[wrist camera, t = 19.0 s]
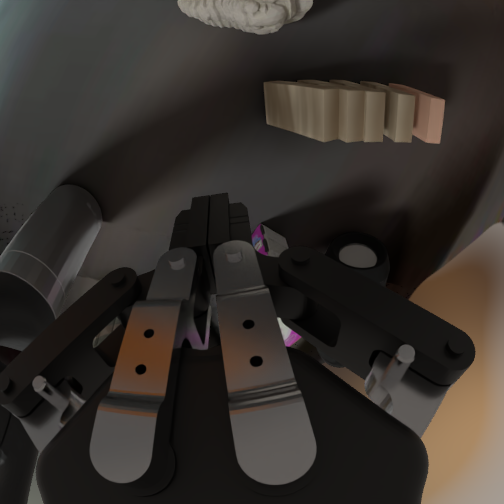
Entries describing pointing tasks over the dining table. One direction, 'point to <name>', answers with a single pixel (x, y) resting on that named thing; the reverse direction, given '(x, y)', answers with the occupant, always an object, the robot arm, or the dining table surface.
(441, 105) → the tile
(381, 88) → the tile
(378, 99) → the tile
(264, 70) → the dining table surface
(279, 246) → the candy bar box
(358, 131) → the tile
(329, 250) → the portable speaker
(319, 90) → the tile
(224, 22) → the fossil replica
